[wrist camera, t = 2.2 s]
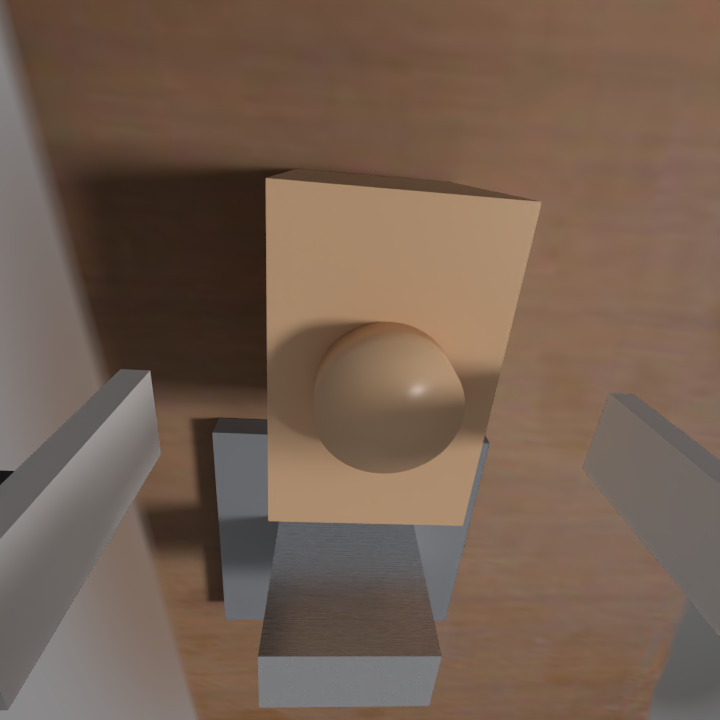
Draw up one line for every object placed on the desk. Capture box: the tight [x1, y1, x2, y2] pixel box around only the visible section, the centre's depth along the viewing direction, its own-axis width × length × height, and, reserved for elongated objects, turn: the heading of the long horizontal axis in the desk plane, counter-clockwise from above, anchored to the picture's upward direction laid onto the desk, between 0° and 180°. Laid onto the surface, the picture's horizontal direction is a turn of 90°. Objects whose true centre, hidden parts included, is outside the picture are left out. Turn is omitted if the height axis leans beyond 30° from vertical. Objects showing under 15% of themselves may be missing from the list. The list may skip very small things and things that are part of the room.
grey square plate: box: [212, 418, 490, 707], centre depth 25 cm, size 16×16×10 cm
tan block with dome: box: [266, 169, 542, 526], centre depth 18 cm, size 12×7×12 cm, turn 175°
